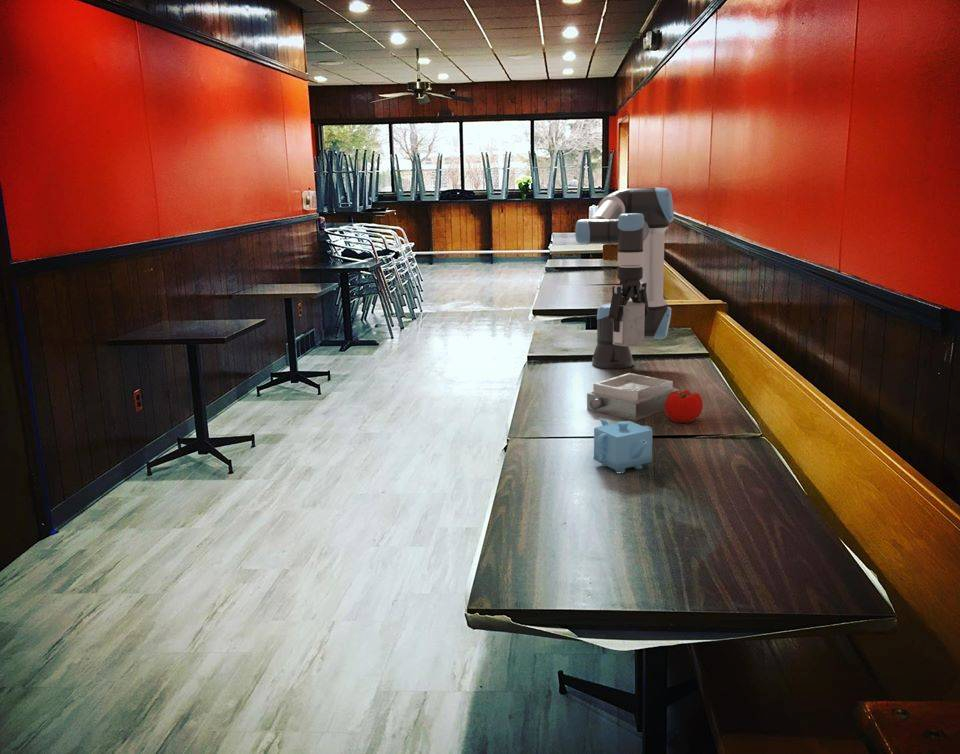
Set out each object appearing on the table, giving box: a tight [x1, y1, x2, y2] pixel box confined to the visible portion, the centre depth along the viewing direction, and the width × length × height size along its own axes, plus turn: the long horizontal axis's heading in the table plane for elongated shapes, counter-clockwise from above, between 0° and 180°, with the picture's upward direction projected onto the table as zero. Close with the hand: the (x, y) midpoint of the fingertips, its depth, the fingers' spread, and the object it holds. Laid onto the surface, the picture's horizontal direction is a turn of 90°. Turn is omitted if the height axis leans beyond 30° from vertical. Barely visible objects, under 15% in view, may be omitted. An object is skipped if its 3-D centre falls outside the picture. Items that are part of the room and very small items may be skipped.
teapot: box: [593, 417, 653, 474], centre depth 195 cm, size 16×18×11 cm
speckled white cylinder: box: [613, 300, 645, 348], centre depth 241 cm, size 10×10×12 cm
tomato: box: [664, 389, 704, 424], centre depth 229 cm, size 11×11×9 cm
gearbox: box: [586, 372, 679, 421], centre depth 243 cm, size 25×18×8 cm
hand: (628, 339), depth 242 cm, fingers closed on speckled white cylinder, 9 cm apart
